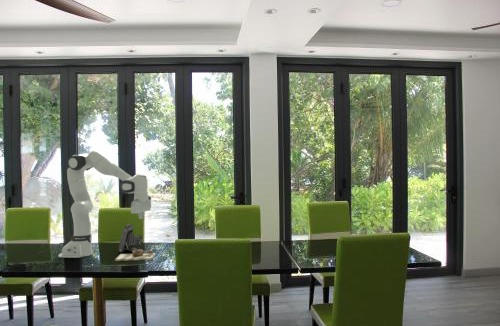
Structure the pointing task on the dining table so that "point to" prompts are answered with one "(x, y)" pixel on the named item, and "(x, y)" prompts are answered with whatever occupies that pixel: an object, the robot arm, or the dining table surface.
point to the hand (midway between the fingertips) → (141, 218)
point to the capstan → (140, 252)
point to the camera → (129, 239)
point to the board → (135, 257)
